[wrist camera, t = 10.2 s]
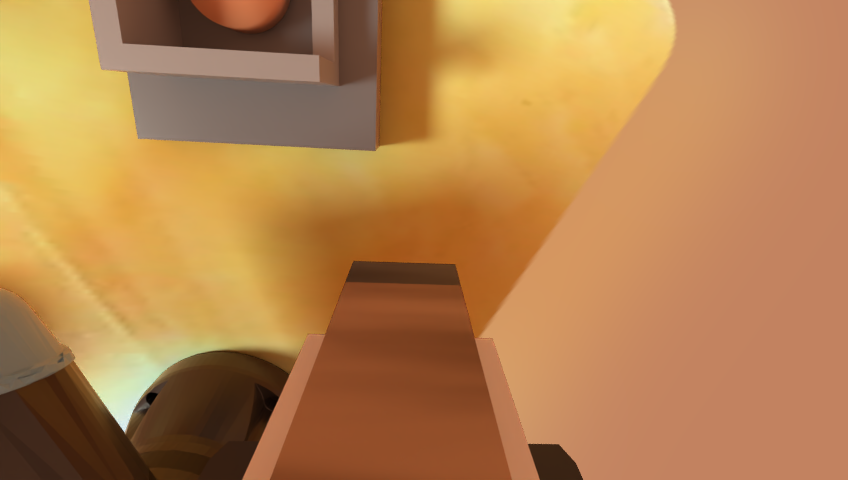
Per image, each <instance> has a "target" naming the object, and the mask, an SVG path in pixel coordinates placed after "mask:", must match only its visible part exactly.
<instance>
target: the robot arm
mask: <svg viewBox="0 0 848 480" xmlns="http://www.w3.org/2000/svg"><path fill="white" fill-rule="evenodd" d="M324 337H325V334H308V336H307V338H306V340H305V342H304V344H303V347H302V349H301V351H300V353H299V356H298V358H297V360H296V362H295V364H294V367H293V369H292V371H291V373H290V375H288V374H287V373H286V372H284V371H283V370H281V369H280V368H278V367H276V366H274V365H272V364H271V363H268V362H266V361H264V360H261V359H259V358H256V357H252V356H249V355H244V354H239V353H232V352H211V353H204V354H199V355H195V356H191V357H188V358H186V359H183V360H181V361H179V362H177V363H175V364H174V365H172V366H171V367H169V368H168V369H167V370H165V371H164V372H163V373H162V374H161V375H160V376H159V377H158V378H157V379H156V380H155V382H154V383H153V384H152V385H151V386H150V387H149V388H148V389H147V390H146V391H145V392H144V394H143V395H142V396H141V398H140V399H139V401H138V403H137V404H136V406H135V408H134V410H133V413H132V415H131V418H130V420H129V423H128V425H127V428H126V430H125V433H124V431H123V430H122V428H121V427H120V426H119V424H118V423H117V421H116V420H115V419H114V417H113V416H112V414H111V413H110V412H109V410H108V409H107V407H106V406H105V405H104V403H103V402H102V400H101V399H100V397H99V396H98V395H97V393H96V392H95V390H94V389H93V388H92V386H91V385H90V383H89V382H88V381H87V379H86V378H85V376H84V375H83V373H82V372H81V371H80V369H79V368H78V366H77V365H76V364H75V362H74V361H73V360H74V359H75V356H74V355H73V353H72V352H71V350H70V349H69V348H68V347H67V346H65V345H63V344H60V343H59V342H58V341H57V339H56V338H55V337H54V336H53V334H52V333H51V332H50V331H49V329H48V328H47V327H46V326H45V325H44V323H43V322H42V321H41V320H40V318H39V317H38V316H37V315H36V313H35V312H34V311H33V310H32V308H31V307H30V306H29V305H28V303H27V302H26V301H24V300H23V299H22V298H21V297H20V296H18V295H17V294H15V293H13V292H11V291H8V290H6V289H3V288H0V480H270V478H271V475H272V473H273V470H274V467H275V465H276V462H277V460H278V457H279V454H280V452H281V449H282V447H283V444H284V441H285V439H286V436H287V433H288V431H289V428H290V426H291V423H292V420H293V418H294V415H295V413H296V410H297V407H298V405H299V402H300V399H301V397H302V394H303V392H304V389H305V386H306V384H307V381H308V379H309V376H310V373H311V371H312V368H313V365H314V363H315V360H316V358H317V355H318V352H319V350H320V347H321V345H322V342H323V339H324ZM475 342H476V345H477V349H478V353H479V357H480V361H481V364H482V368H483V372H484V376H485V380H486V383H487V387H488V391H489V395H490V398H491V402H492V406H493V410H494V414H495V417H496V421H497V425H498V429H499V433H500V436H501V440H502V444H503V448H504V452H505V455H506V459H507V463H508V467H509V471H510V474H511V478H512V480H583V478H582V476H581V474H580V472H579V469H578V467H577V465H576V463H575V462H574V461H573V460H572V459H571V457H570V456H569V455H568V454H567V453H566V452H565V451H564V450H563V449H562V448H561V446H560V445H558V444H528V443H527V440H526V437H525V435H524V432H523V428H522V426H521V422H520V420H519V417H518V414H517V411H516V408H515V405H514V402H513V399H512V396H511V393H510V390H509V387H508V384H507V381H506V378H505V375H504V372H503V369H502V366H501V363H500V360H499V357H498V354H497V351H496V348H495V345H494V342H493V339H491V338H490V339H489V338H475Z"/></svg>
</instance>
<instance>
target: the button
mask: <svg viewBox="0 0 848 480" xmlns="http://www.w3.org/2000/svg"><path fill="white" fill-rule="evenodd" d="M191 2H192V3H193V4H194V6H195V7H196V8H197V9H198V10H199V11H200V12H201V13H202V14H203V15H204V16H206V17H207V18H208V19H210V20H212V21H213V22H215V23H217V24H220V25H222V26H225V27H227V28H230V29H232V30H235V31H237V32H241V33H247V34H256V33H261V32H264V31H267V30H269V29H271V28H272V27H274V26H275V25H276V24H277V23H278V22H279V21H280V20H281V19H282V18H283V16H284V15H285V13H286V11H287V8H288V6H289V3H290V0H191Z"/></svg>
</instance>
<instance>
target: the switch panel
mask: <svg viewBox="0 0 848 480" xmlns="http://www.w3.org/2000/svg"><path fill="white" fill-rule="evenodd" d="M89 4H90V10H91V15H92V21H93V26H94V32H95V37H96V43H97V49H98V54H99V60H100V65H101V69H102V70H111V71H121V72H127V73H128V79H129V85H130V92H131V98H132V104H133V110H134V117H135V123H136V129H137V135H138V139H156V140H175V141H195V142H214V143H233V144H253V145H272V146H291V147H311V148H330V149H349V150H369V151H376V150H377V148H378V147H379V134H380V81H381V28H382V0H290V3H289V6H288V8H287V11H286V13H285V15H284V16H283V18H282V19H281V20H280V21H279V22H278V23H277V24H276V25H275V26H274V27H272V28H271V29H269V30H267V31H264V32H261V33H256V34H247V33H241V32H237V31H235V30H232V29H230V28H227V27H225V26H222V25H220V24H217V23H215V22H213V21H212V20H210V19H208V18H207V17H206V16H204V15H203V14H202V13H201V12H200V11H199V10H198V9H197V8H196V7H195V6H194V4H193V3H192V2H191V0H89Z"/></svg>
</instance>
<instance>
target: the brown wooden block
mask: <svg viewBox="0 0 848 480" xmlns="http://www.w3.org/2000/svg"><path fill="white" fill-rule="evenodd" d="M270 480H512V478H511V474H510V471H509V467H508V463H507V459H506V455H505V452H504V448H503V444H502V440H501V436H500V433H499V429H498V425H497V421H496V417H495V414H494V410H493V406H492V402H491V398H490V395H489V391H488V387H487V383H486V380H485V376H484V372H483V368H482V364H481V361H480V357H479V353H478V349H477V345H476V342H475V338H474V334H473V330H472V326H471V323H470V319H469V315H468V311H467V308H466V304H465V300H464V296H463V292H462V289H461V285H460V281H459V277H458V273H457V270H456V266H455V264H428V263H396V262H364V261H353V264H352V266H351V269H350V271H349V274H348V277H347V279H346V282H345V284H344V287H343V290H342V292H341V295H340V298H339V300H338V303H337V305H336V308H335V311H334V313H333V316H332V318H331V321H330V324H329V326H328V329H327V332H326V334H325V337H324V339H323V342H322V345H321V347H320V350H319V352H318V355H317V358H316V360H315V363H314V365H313V368H312V371H311V373H310V376H309V379H308V381H307V384H306V386H305V389H304V392H303V394H302V397H301V399H300V402H299V405H298V407H297V410H296V413H295V415H294V418H293V420H292V423H291V426H290V428H289V431H288V433H287V436H286V439H285V441H284V444H283V447H282V449H281V452H280V454H279V457H278V460H277V462H276V465H275V467H274V470H273V473H272V475H271V478H270Z"/></svg>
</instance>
